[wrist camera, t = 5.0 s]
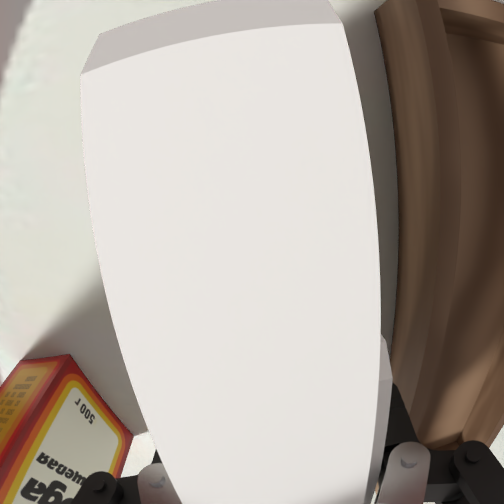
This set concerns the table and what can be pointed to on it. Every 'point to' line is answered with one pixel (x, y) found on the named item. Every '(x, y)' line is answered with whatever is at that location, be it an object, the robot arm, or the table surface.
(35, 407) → the baking soda box
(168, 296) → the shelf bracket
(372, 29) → the table surface
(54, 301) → the table surface
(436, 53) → the trough
